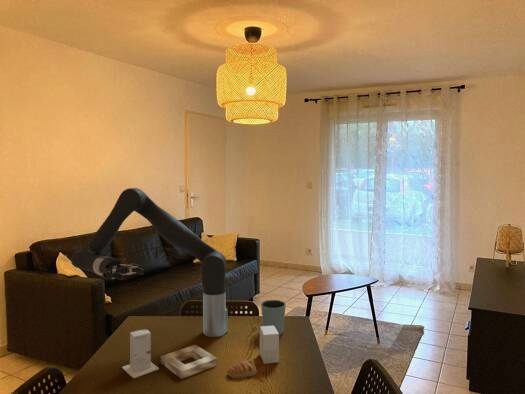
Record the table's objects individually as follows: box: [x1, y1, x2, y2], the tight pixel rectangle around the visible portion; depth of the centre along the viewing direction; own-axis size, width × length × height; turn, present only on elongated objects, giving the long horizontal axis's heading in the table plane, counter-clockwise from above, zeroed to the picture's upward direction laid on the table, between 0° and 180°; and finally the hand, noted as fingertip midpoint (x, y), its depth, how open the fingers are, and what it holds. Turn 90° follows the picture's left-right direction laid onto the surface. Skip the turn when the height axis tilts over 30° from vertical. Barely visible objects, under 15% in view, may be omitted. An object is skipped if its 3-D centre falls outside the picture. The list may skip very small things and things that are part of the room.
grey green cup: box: [260, 299, 287, 336], centre depth 169 cm, size 10×10×12 cm
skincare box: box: [129, 328, 152, 372], centre depth 138 cm, size 6×4×12 cm
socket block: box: [160, 344, 218, 380], centre depth 141 cm, size 14×14×2 cm
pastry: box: [226, 359, 257, 379], centre depth 135 cm, size 9×7×4 cm
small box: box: [259, 325, 280, 365], centre depth 146 cm, size 8×6×10 cm
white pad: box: [121, 361, 160, 379], centre depth 138 cm, size 9×9×1 cm
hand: (132, 274), depth 145 cm, fingers open, 8 cm apart
